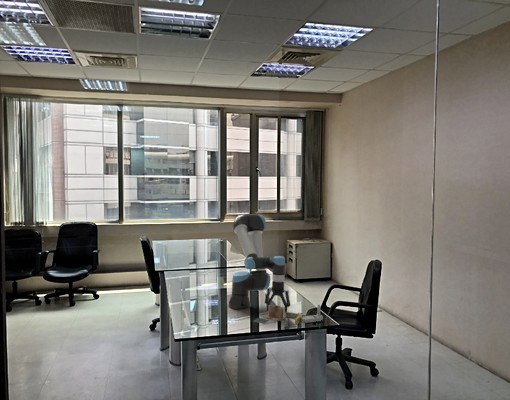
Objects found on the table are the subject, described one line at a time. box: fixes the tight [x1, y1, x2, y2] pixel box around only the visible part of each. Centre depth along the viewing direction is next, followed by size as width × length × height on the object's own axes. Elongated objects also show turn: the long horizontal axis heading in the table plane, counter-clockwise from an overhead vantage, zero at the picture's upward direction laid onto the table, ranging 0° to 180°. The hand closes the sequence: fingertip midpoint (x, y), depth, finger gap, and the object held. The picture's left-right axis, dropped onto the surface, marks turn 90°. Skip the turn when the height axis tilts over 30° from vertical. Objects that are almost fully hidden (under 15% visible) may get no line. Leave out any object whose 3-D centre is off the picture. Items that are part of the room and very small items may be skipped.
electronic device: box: [300, 304, 324, 324], centre depth 255 cm, size 5×10×15 cm
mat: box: [252, 317, 270, 325], centre depth 248 cm, size 8×8×1 cm
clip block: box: [269, 304, 284, 319], centre depth 255 cm, size 8×5×7 cm, turn 67°
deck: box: [262, 312, 285, 322], centre depth 255 cm, size 21×11×1 cm, turn 67°
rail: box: [285, 311, 303, 325], centre depth 255 cm, size 22×11×4 cm, turn 67°
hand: (276, 315), depth 255 cm, fingers open, 9 cm apart
